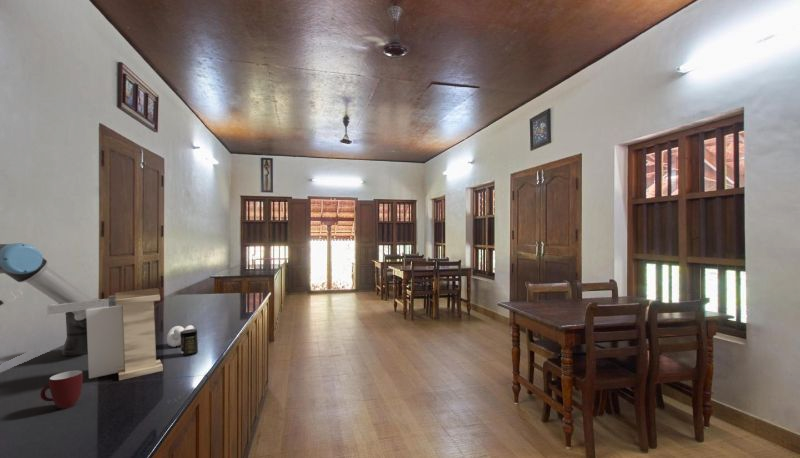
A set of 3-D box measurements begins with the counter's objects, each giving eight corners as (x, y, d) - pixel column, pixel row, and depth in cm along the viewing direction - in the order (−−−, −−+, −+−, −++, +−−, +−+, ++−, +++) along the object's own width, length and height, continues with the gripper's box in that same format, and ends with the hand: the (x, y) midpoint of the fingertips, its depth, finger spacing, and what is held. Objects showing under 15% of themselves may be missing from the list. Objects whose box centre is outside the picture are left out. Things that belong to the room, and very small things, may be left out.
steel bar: (48, 313, 143) (48, 302, 143) (127, 303, 158) (126, 294, 158) (47, 314, 140) (47, 303, 140) (127, 304, 155) (127, 294, 155)
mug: (35, 416, 115) (34, 383, 115) (45, 406, 122) (43, 375, 122) (80, 407, 120) (78, 376, 120) (86, 398, 127) (85, 368, 127)
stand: (118, 373, 150) (115, 292, 150) (159, 364, 159) (156, 287, 159) (119, 380, 142) (115, 295, 142) (162, 370, 151) (159, 290, 151)
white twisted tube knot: (200, 344, 186) (199, 325, 186) (172, 350, 178) (171, 331, 178) (191, 340, 194) (191, 322, 194) (165, 346, 185) (164, 327, 185)
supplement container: (201, 353, 172) (200, 330, 172) (186, 357, 166) (185, 333, 166) (193, 351, 176) (192, 328, 176) (178, 355, 170) (177, 332, 170)
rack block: (89, 372, 152) (86, 307, 152) (123, 365, 158) (121, 303, 158) (88, 378, 145) (86, 310, 145) (124, 371, 152) (121, 306, 152)
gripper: (-39, 333, 139) (29, 297, 151) (-61, 349, 120) (19, 305, 131) (-56, 317, 137) (15, 282, 148) (-81, 331, 117) (3, 288, 129)
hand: (17, 293), depth 140 cm, fingers open, 13 cm apart
